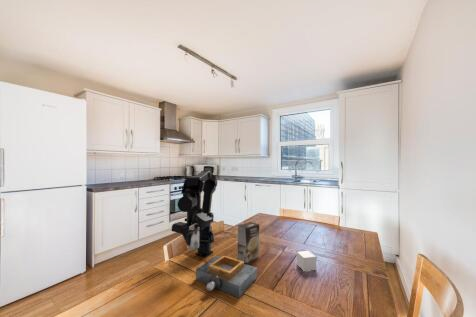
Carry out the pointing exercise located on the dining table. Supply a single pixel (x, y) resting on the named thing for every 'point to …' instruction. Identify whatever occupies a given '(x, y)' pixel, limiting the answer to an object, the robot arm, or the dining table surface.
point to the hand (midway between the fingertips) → (193, 243)
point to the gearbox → (227, 275)
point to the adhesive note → (306, 260)
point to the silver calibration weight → (194, 239)
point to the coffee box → (248, 242)
